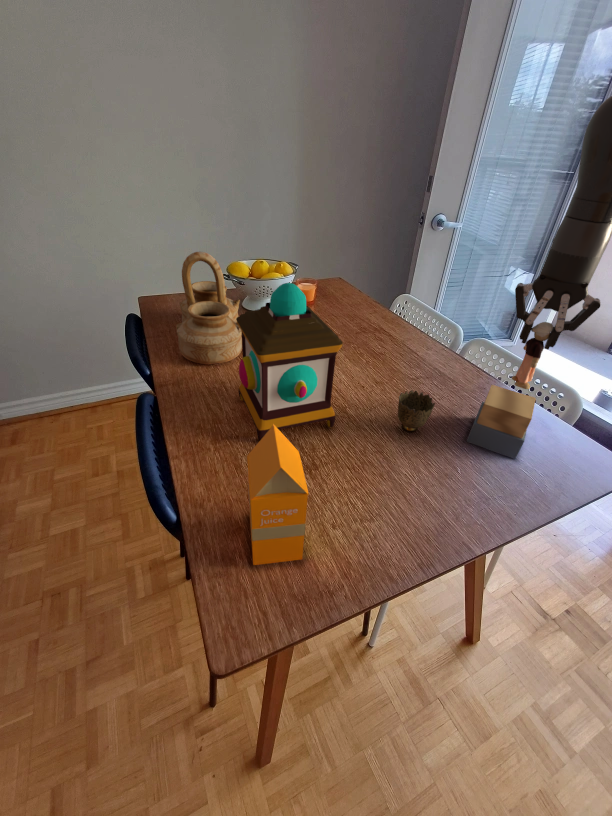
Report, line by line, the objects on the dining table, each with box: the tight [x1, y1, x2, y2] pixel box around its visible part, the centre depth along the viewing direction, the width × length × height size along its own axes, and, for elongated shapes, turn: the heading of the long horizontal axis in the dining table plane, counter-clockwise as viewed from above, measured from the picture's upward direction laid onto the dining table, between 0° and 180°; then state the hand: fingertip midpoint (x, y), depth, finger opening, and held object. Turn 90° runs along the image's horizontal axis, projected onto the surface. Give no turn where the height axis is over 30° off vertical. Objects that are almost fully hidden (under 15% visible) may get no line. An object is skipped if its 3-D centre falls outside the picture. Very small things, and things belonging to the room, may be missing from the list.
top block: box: [477, 384, 537, 438], centre depth 84 cm, size 9×9×5 cm
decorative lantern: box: [236, 282, 344, 442], centre depth 82 cm, size 20×20×30 cm
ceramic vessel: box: [175, 251, 242, 365], centre depth 111 cm, size 34×18×25 cm, turn 13°
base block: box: [466, 401, 528, 460], centre depth 87 cm, size 10×10×5 cm
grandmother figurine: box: [511, 321, 554, 390], centre depth 75 cm, size 8×4×13 cm, turn 178°
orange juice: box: [246, 424, 310, 566], centre depth 58 cm, size 8×9×20 cm
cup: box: [397, 390, 436, 434], centre depth 86 cm, size 8×7×8 cm
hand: (535, 344), depth 74 cm, fingers closed on grandmother figurine, 3 cm apart
